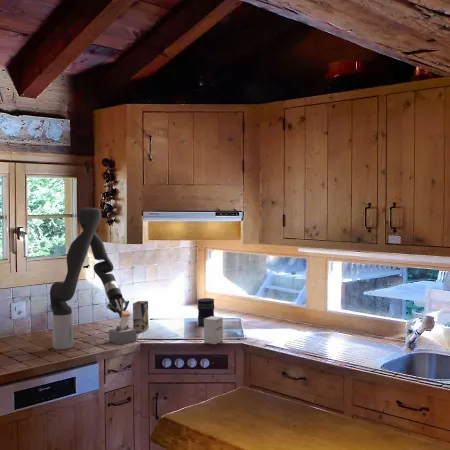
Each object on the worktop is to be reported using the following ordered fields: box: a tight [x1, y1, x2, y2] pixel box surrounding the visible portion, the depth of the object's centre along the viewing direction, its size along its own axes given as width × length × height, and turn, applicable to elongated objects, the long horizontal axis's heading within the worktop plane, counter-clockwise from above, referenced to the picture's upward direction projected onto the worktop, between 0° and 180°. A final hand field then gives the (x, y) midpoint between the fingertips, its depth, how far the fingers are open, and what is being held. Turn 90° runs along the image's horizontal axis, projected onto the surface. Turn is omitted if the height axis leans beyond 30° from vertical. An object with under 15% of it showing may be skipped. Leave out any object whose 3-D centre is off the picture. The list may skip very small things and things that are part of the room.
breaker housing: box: [108, 324, 138, 346], centre depth 293 cm, size 10×11×8 cm
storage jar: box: [197, 297, 215, 328], centre depth 327 cm, size 10×10×15 cm
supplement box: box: [203, 315, 224, 345], centre depth 288 cm, size 7×7×13 cm
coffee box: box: [132, 300, 150, 333], centre depth 317 cm, size 9×6×16 cm
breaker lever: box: [118, 309, 131, 330], centre depth 291 cm, size 3×4×11 cm
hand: (123, 317), depth 291 cm, fingers closed
